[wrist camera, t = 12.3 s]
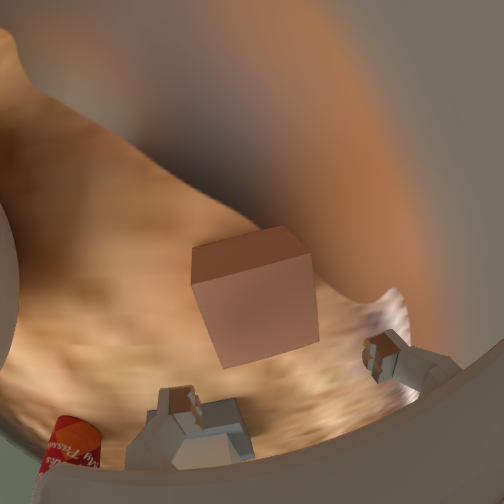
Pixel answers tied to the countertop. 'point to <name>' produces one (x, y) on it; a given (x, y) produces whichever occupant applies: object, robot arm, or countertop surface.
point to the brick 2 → (256, 295)
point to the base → (223, 425)
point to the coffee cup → (72, 445)
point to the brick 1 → (206, 453)
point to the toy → (7, 287)
